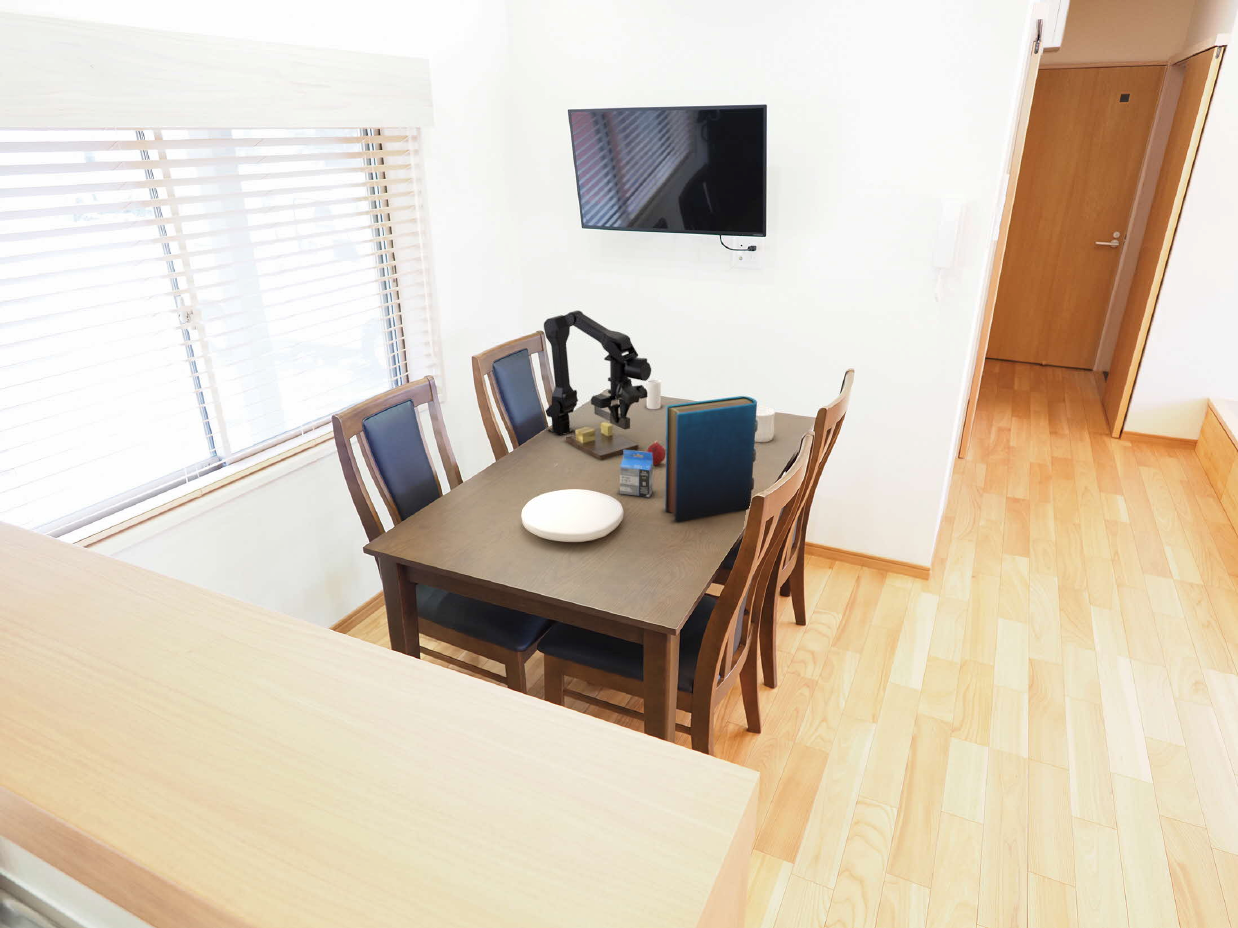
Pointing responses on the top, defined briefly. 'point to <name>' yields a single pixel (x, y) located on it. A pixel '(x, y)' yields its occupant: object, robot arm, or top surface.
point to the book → (710, 457)
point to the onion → (657, 453)
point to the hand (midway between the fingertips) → (619, 422)
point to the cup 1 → (653, 394)
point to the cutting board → (600, 443)
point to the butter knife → (622, 422)
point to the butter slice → (606, 429)
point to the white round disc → (572, 515)
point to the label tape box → (636, 473)
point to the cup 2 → (764, 424)
